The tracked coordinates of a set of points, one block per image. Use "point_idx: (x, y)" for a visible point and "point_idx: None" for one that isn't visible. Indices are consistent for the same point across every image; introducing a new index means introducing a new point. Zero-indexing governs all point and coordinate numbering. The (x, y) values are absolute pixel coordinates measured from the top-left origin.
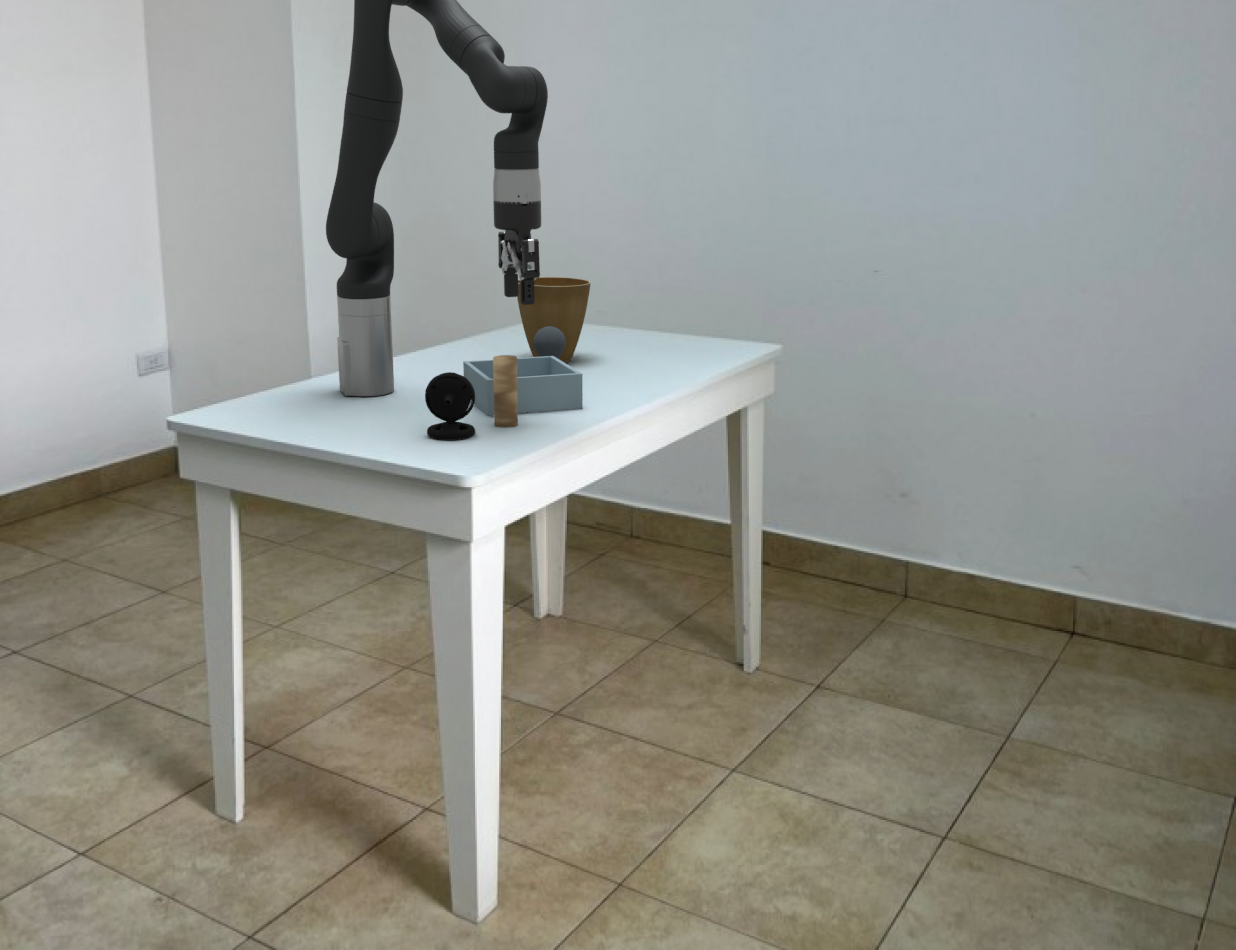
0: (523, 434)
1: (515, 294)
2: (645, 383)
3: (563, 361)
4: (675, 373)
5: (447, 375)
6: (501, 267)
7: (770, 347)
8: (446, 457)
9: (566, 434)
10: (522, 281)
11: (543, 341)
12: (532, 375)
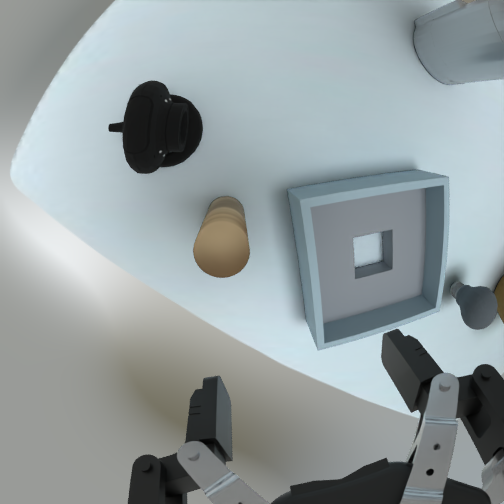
0: (164, 236)
1: (384, 359)
2: None
3: None
4: None
5: (125, 120)
6: (472, 375)
7: None
8: (62, 138)
9: (164, 290)
10: (201, 442)
11: (475, 304)
12: (425, 273)
